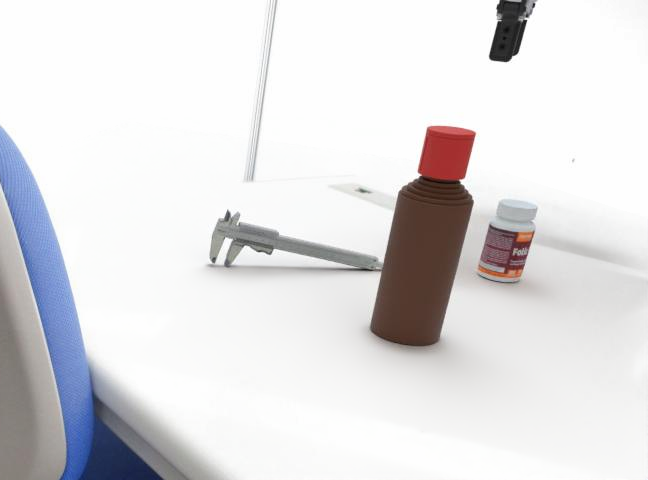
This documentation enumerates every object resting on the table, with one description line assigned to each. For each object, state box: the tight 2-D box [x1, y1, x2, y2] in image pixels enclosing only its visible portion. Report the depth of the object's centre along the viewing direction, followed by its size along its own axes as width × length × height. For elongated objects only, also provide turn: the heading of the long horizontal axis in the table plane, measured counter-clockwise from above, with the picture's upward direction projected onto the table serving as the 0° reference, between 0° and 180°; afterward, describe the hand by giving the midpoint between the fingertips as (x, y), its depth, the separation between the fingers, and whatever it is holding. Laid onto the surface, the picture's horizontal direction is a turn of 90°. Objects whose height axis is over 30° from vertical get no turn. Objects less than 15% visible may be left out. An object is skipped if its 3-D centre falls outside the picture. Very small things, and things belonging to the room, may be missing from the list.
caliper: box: [209, 208, 384, 272], centre depth 97 cm, size 20×1×6 cm, turn 95°
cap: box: [416, 125, 477, 181], centre depth 75 cm, size 4×4×4 cm
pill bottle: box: [476, 198, 539, 283], centre depth 98 cm, size 5×5×8 cm
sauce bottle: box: [369, 174, 475, 346], centre depth 79 cm, size 6×6×18 cm
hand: (503, 58), depth 93 cm, fingers open, 8 cm apart
